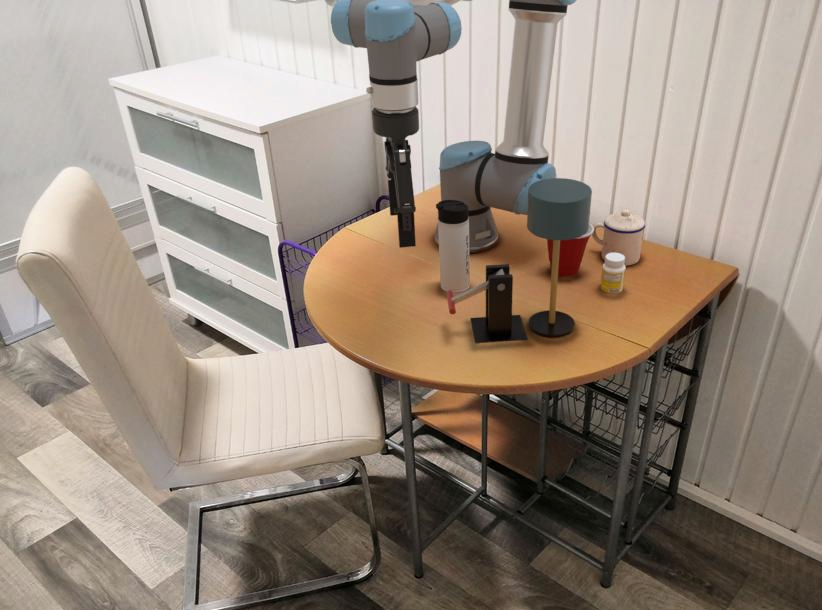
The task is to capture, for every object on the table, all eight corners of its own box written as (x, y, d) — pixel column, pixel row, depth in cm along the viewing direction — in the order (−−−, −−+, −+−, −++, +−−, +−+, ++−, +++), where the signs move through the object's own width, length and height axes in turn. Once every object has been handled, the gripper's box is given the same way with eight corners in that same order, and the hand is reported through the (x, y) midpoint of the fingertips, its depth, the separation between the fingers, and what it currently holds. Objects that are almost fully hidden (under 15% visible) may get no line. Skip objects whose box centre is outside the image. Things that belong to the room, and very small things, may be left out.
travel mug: (434, 286, 160) (431, 199, 148) (462, 280, 162) (461, 194, 150) (445, 300, 155) (442, 211, 144) (474, 293, 157) (473, 205, 146)
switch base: (475, 348, 140) (474, 284, 132) (470, 322, 148) (469, 261, 140) (527, 344, 141) (529, 281, 133) (519, 319, 148) (521, 258, 140)
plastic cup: (598, 282, 161) (603, 231, 154) (551, 289, 158) (554, 238, 151) (577, 259, 169) (582, 211, 162) (533, 266, 167) (535, 217, 160)
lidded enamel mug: (646, 254, 171) (652, 207, 164) (632, 270, 164) (638, 222, 158) (597, 243, 176) (602, 196, 169) (582, 258, 170) (586, 211, 163)
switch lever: (452, 317, 137) (446, 308, 136) (449, 298, 143) (443, 289, 142) (511, 290, 135) (505, 280, 134) (505, 272, 141) (500, 262, 139)
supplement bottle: (609, 284, 160) (612, 249, 155) (627, 292, 157) (631, 256, 152) (595, 292, 157) (599, 256, 152) (613, 300, 154) (617, 264, 149)
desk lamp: (519, 317, 149) (523, 179, 133) (572, 313, 150) (583, 176, 133) (528, 347, 140) (534, 204, 124) (585, 343, 141) (598, 200, 124)
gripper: (364, 88, 128) (374, 204, 140) (379, 132, 108) (389, 263, 120) (407, 86, 129) (413, 200, 141) (430, 129, 109) (434, 258, 121)
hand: (402, 229), depth 131 cm, fingers open, 13 cm apart
